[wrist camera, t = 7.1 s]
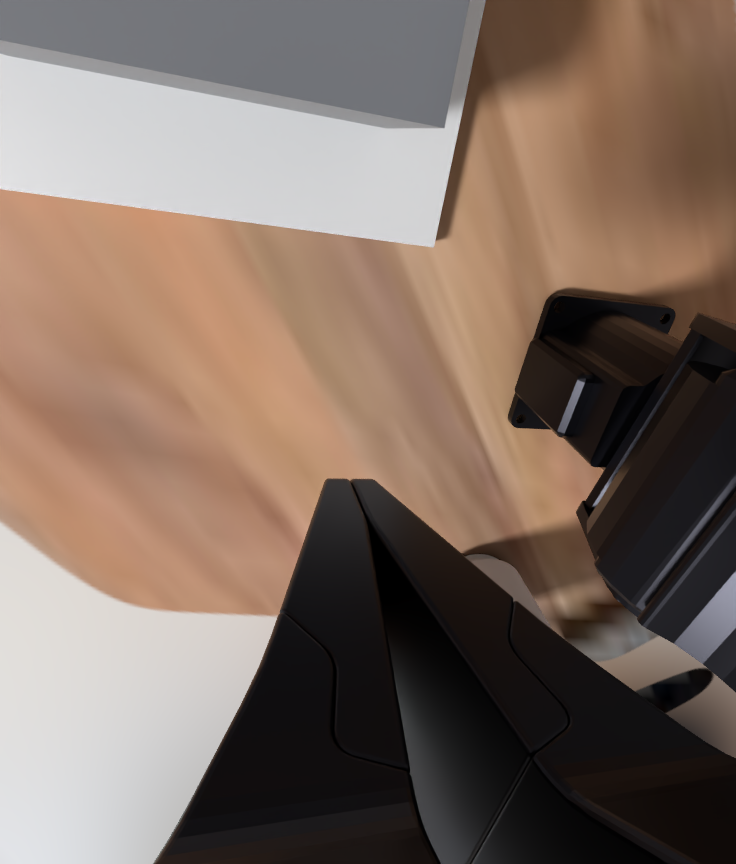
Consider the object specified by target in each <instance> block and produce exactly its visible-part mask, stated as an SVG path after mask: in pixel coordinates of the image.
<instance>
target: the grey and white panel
mask: <svg viewBox="0 0 736 864" xmlns="http://www.w3.org/2000/svg"><path fill="white" fill-rule="evenodd" d="M485 1H486V0H0V189H4V190H11V191H19V192H26V193H34V194H41V195H48V196H56V197H63V198H71V199H78V200H86V201H93V202H100V203H108V204H115V205H123V206H130V207H137V208H145V209H152V210H160V211H167V212H175V213H182V214H189V215H197V216H204V217H212V218H219V219H227V220H234V221H241V222H249V223H256V224H264V225H271V226H279V227H286V228H293V229H301V230H308V231H316V232H323V233H331V234H338V235H345V236H353V237H360V238H368V239H375V240H382V241H390V242H397V243H405V244H412V245H420V246H427V247H434V244H435V240H436V235H437V230H438V225H439V220H440V216H441V211H442V206H443V201H444V197H445V192H446V187H447V182H448V178H449V173H450V168H451V163H452V159H453V154H454V149H455V144H456V140H457V135H458V130H459V125H460V120H461V116H462V111H463V106H464V101H465V97H466V92H467V87H468V82H469V78H470V73H471V68H472V63H473V59H474V54H475V49H476V44H477V40H478V35H479V30H480V25H481V20H482V16H483V11H484V6H485Z"/></svg>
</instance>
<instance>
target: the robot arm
mask: <svg viewBox="0 0 736 864" xmlns="http://www.w3.org/2000/svg"><path fill="white" fill-rule="evenodd" d="M558 302H561V303H560V306H559V308H558V309H556V310H554V307H555V305H556V304H557V303H558ZM663 315H664V317H663V319H662V320H660V318H661V317H662V316H663ZM674 319H675V311H674V310H673V309H671V308H669V307H667V306H664V305H655V304H647V303H639V302H630V301H622V300H613V299H605V298H596V297H588V296H580V295H571V294H563V293H555V294H553V295H551V296H550V297H549V298H548V299H547V300H546V302H545V305H544V308H543V311H542V314H541V317H540V320H539V323H538V326H537V329H536V332H535V335H534V338H533V340H532V341H531V342H530V345H529V348H528V351H527V354H526V357H525V360H524V363H523V366H522V369H521V372H520V375H519V378H518V381H517V384H516V387H515V395H514V398H513V401H512V405H511V408H510V411H509V414H508V420H509V422H510V423H511V424H512V425H513V426H514V427H516V428H531V429H551V430H552V431H553V432H554V433H555V434H556V435H557V436H559V437H563V438H564V439H565V440H566V441H567V442H568V443H569V444H570V445H571V446H572V447H573V448H574V449H575V450H576V451H577V452H578V453H579V454H580V455H581V456H582V457H583V458H584V459H585V460H586V461H587V462H588V463H589V464H590V465H591V466H593V467H601V468H602V469H603V470H604V472H603V473H602V475H601V477H600V478H599V480H598V482H597V483H596V485H595V486H594V488H593V490H592V491H591V493H590V495H589V496H588V498H587V499H586V501H582V502H581V504H580V506H579V507H578V509H577V511H576V513H577V516H578V518H579V521H580V523H581V526H582V528H583V531H584V533H585V536H586V538H587V541H588V543H589V546H590V548H591V551H592V553H593V556H594V558H595V566H596V569H597V571H598V573H599V574H600V575H601V576H602V578H603V580H604V582H605V583H606V585H607V587H608V588H609V590H610V591H611V592H612V594H613V596H614V598H616V599H617V600H618V601H619V602H621V603H622V604H623V605H624V606H625V607H626V608H627V609H628V610H629V611H630V612H632V613H633V614H634V615H635V616H637V617H638V618H637V620H638V622H639V623H640V624H641V625H642V626H643V627H645V628H647V629H649V630H650V631H652V632H654V633H656V634H658V635H659V636H661V637H663V638H665V639H667V640H669V641H670V642H672V643H674V644H675V645H677V646H678V647H680V648H681V649H682V650H684V651H685V652H687V653H688V654H689V655H691V656H692V657H694V658H695V659H697V660H698V661H699V662H701V663H702V664H704V665H705V666H706V667H707V668H708V669H709V670H711V671H712V672H713V673H714V674H715V675H717V676H718V677H719V678H720V679H721V680H723V681H724V682H725V683H726V684H727V685H728V686H729V687H730V688H732V689H733V690H734V691H735V692H736V324H733V323H729V322H726V321H723V320H720V319H717V318H714V317H711V316H707V315H704V314H701V313H697V315H696V317H695V318H694V320H693V321H692V323H691V325H690V326H689V328H691V331H690V332H689V334H688V336H687V337H686V339H685V340H684V342H682V341H680V340H678V339H676V338H674V337H672V336H670V335H668V332H669V330H670V328H671V326H672V324H673V321H674ZM519 415H522V416H521V418H519V419H517V420H516V418H517V417H518V416H519ZM153 864H736V758H734V757H731V756H730V755H727V754H725V753H724V752H722V751H720V750H718V749H717V748H715V747H713V746H712V745H710V744H708V743H706V742H705V741H703V740H702V739H701V738H699V737H698V736H696V735H695V734H693V733H692V732H690V731H689V730H687V729H686V728H685V727H683V726H681V725H680V724H679V723H678V722H676V721H675V720H674V719H672V718H671V717H669V716H668V715H667V714H665V713H664V712H662V711H661V710H660V709H658V708H657V707H656V706H654V705H653V704H651V703H650V702H649V701H647V700H646V699H644V698H643V697H642V696H640V695H639V694H638V693H636V692H635V691H633V690H632V689H631V688H629V687H628V686H626V685H625V684H624V683H622V682H621V681H620V680H618V679H617V678H615V677H614V676H613V675H611V674H610V673H608V672H607V671H606V670H604V669H603V668H602V667H600V666H599V665H597V664H596V663H595V662H594V661H592V660H591V659H590V658H588V657H587V656H586V655H584V654H583V653H582V652H580V651H579V650H578V649H576V648H575V647H574V646H572V645H571V644H570V643H568V642H567V641H566V640H564V639H563V638H562V637H561V636H559V635H558V634H557V633H556V632H555V631H553V630H552V629H551V628H550V627H548V626H547V625H546V624H545V623H543V622H542V621H541V620H540V619H538V618H537V617H536V616H535V615H534V614H532V613H531V612H530V611H529V610H528V609H527V608H525V607H524V606H523V605H522V604H521V603H519V602H518V601H514V602H513V597H512V596H511V595H510V594H509V593H507V592H506V591H505V590H504V589H503V588H501V587H500V586H499V585H498V584H497V583H496V582H494V581H493V580H492V579H491V578H490V577H488V576H487V575H486V574H485V573H484V572H483V571H481V570H480V569H479V568H478V567H477V566H476V565H474V564H473V563H472V562H471V561H470V560H468V559H467V558H466V557H465V556H464V555H463V554H461V553H460V552H459V551H458V550H457V549H455V548H454V547H453V546H452V545H451V544H450V543H448V542H447V541H446V540H445V539H444V538H442V537H441V536H440V535H439V534H438V533H437V532H435V531H434V530H433V529H432V528H431V527H429V526H428V525H427V524H426V523H425V522H424V521H422V520H421V519H420V518H419V517H418V516H416V515H415V514H414V513H413V512H412V511H411V510H409V509H408V508H407V507H406V506H405V505H403V504H402V503H401V502H400V501H399V500H398V499H396V498H395V497H394V496H393V495H392V494H390V493H389V492H388V491H387V490H386V489H385V488H383V487H382V486H381V485H380V484H379V483H377V482H376V481H375V480H373V479H352V480H351V481H349V480H348V479H326V480H325V482H324V485H323V488H322V491H321V494H320V497H319V500H318V502H317V505H316V508H315V511H314V514H313V517H312V520H311V523H310V526H309V529H308V531H307V534H306V537H305V540H304V543H303V546H302V549H301V552H300V555H299V558H298V560H297V563H296V566H295V569H294V572H293V575H292V578H291V581H290V584H289V587H288V589H287V592H286V595H285V598H284V601H283V604H282V607H281V610H280V614H279V615H278V617H277V620H276V623H275V626H274V629H273V632H272V635H271V638H270V640H269V643H268V645H267V648H266V650H265V653H264V656H263V658H262V661H261V663H260V666H259V668H258V670H257V672H256V674H255V676H254V679H253V680H252V682H251V685H250V687H249V689H248V691H247V693H246V695H245V697H244V699H243V701H242V703H241V706H240V707H239V709H238V711H237V713H236V715H235V717H234V719H233V721H232V723H231V725H230V726H229V728H228V730H227V732H226V734H225V736H224V738H223V740H222V742H221V743H220V745H219V747H218V749H217V751H216V753H215V755H214V757H213V759H212V761H211V763H210V764H209V766H208V768H207V770H206V772H205V774H204V776H203V778H202V780H201V782H200V784H199V786H198V787H197V789H196V791H195V793H194V795H193V797H192V799H191V801H190V802H189V804H188V806H187V808H186V810H185V812H184V813H183V815H182V817H181V818H180V820H179V822H178V824H177V826H176V827H175V829H174V831H173V832H172V834H171V836H170V838H169V839H168V841H167V843H166V844H165V846H164V847H163V849H162V851H161V852H160V854H159V855H158V857H157V858H156V860H155V862H154V863H153Z"/></svg>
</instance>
